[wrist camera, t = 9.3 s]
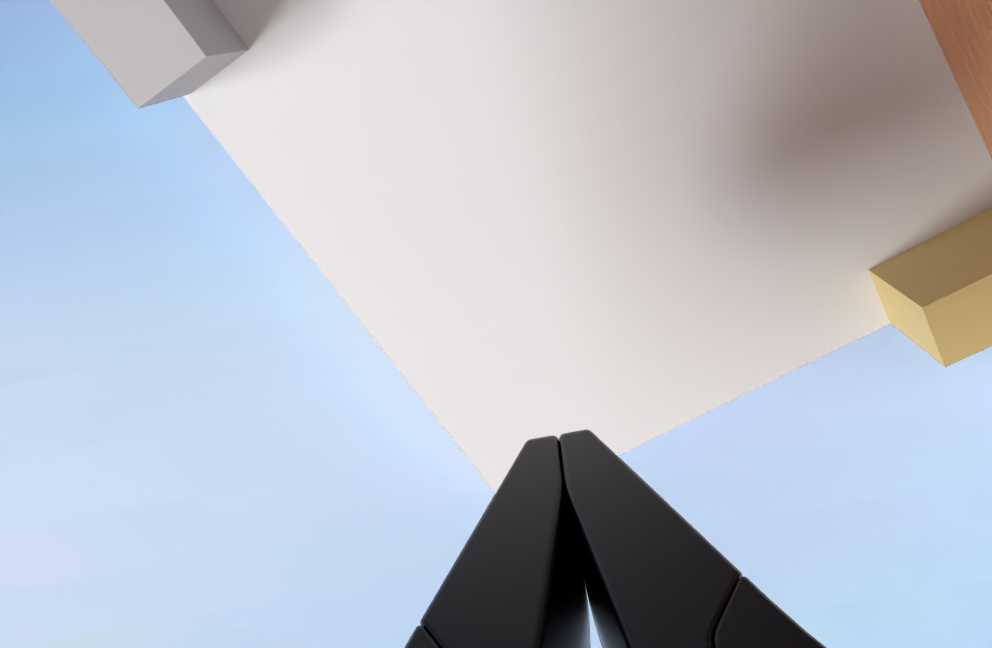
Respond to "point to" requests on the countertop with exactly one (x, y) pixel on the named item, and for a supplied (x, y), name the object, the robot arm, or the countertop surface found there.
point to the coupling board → (593, 188)
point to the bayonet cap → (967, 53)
